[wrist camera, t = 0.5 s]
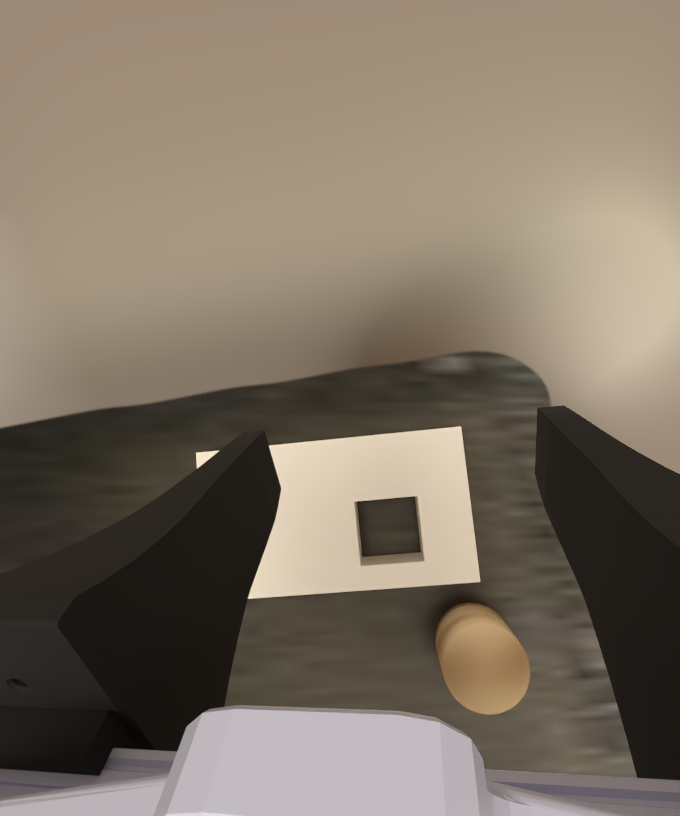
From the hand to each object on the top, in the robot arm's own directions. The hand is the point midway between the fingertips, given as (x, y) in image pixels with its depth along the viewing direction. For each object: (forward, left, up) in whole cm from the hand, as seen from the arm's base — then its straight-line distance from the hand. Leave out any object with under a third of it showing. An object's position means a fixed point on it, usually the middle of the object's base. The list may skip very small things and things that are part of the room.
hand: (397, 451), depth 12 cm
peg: (-14, -4, -25) cm, 28 cm away
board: (-4, +5, -25) cm, 25 cm away
